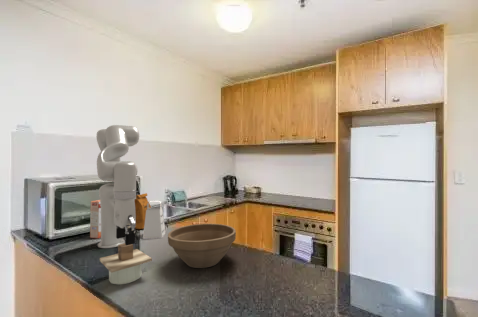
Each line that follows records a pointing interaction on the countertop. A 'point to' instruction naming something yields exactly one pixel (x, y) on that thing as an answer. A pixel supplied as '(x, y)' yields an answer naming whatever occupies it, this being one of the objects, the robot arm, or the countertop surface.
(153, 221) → the grater
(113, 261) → the lid
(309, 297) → the countertop surface
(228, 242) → the flower pot
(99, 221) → the cracker box
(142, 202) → the coffee package
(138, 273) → the bowl
